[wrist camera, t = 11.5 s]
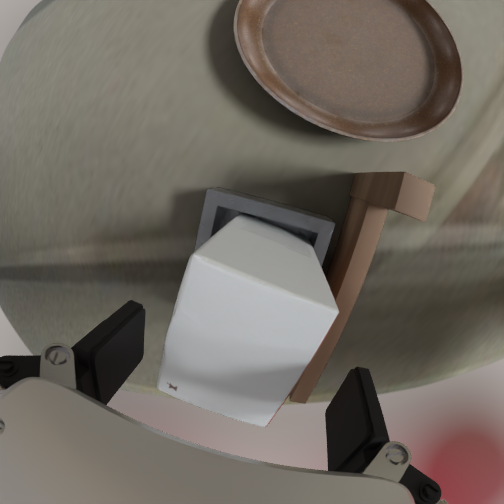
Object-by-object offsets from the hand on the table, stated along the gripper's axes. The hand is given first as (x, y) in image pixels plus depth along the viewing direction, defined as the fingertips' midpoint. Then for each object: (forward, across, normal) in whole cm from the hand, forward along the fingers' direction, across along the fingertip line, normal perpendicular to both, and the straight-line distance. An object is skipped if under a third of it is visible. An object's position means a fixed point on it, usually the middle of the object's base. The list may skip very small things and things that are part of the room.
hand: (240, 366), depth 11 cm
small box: (+13, +1, 0) cm, 13 cm away
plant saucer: (+14, -2, -22) cm, 27 cm away
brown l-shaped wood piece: (+14, -6, 0) cm, 15 cm away
